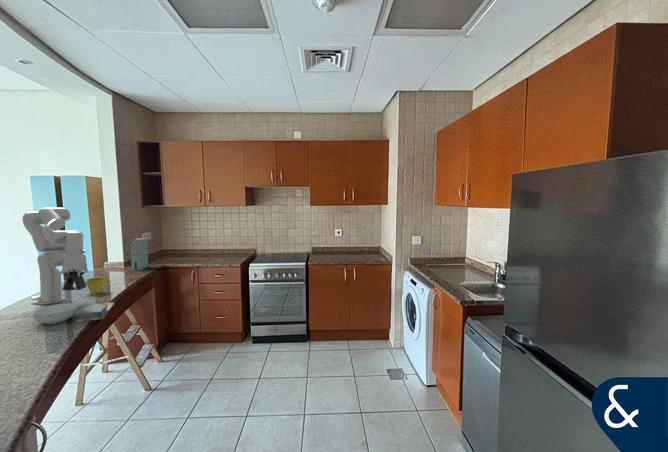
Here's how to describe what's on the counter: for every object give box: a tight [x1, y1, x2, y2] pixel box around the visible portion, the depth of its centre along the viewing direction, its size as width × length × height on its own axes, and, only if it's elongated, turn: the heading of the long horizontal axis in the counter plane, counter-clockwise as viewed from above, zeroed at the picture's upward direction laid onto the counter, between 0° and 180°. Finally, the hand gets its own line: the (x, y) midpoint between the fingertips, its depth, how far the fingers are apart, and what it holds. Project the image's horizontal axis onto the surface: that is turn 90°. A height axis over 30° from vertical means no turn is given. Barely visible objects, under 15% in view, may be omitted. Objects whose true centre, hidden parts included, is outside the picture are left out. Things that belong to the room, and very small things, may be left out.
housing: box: [76, 305, 107, 321], centre depth 156 cm, size 10×12×3 cm
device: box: [130, 237, 149, 271], centre depth 279 cm, size 16×8×30 cm, turn 12°
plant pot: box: [85, 277, 106, 295], centre depth 200 cm, size 10×10×10 cm
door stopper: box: [62, 270, 88, 291], centre depth 167 cm, size 9×6×12 cm, turn 104°
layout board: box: [76, 302, 115, 323], centre depth 164 cm, size 11×26×1 cm, turn 27°
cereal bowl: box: [32, 303, 79, 325], centre depth 150 cm, size 17×17×7 cm
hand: (74, 283), depth 167 cm, fingers closed on door stopper, 2 cm apart
